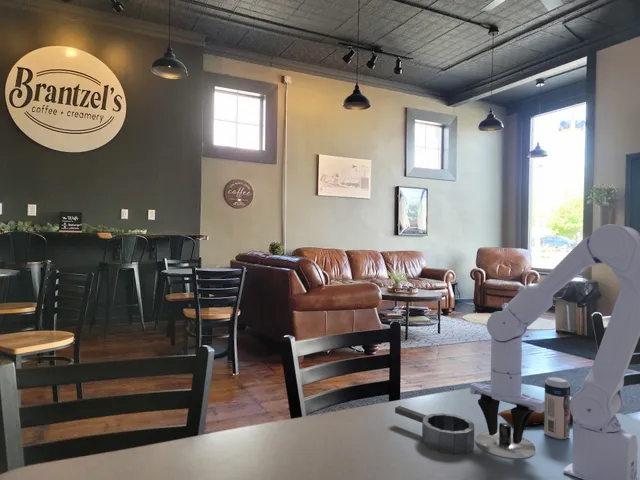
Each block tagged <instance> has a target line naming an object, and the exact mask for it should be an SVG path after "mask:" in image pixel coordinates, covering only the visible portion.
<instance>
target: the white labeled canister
mask: <svg viewBox="0 0 640 480" xmlns="http://www.w3.org/2000/svg"><path fill="white" fill-rule="evenodd" d="M570 399H571V384H570V382H569V380H568V379H566V378H564V377H560V376H548V377H547V378H546V379H545V381H544V401H545V411H544V423H543V425H544V426H543V431H544V434H546V435H547V436H548V437H550V438H551V439H552V438H553V439H556V440H566V439H569V437H571V436H570V432H571V431H570V429H571V428H570V427H571V426H570V425H571V424H570V407H569V403H570Z"/></svg>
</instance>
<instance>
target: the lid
mask: <svg viewBox="0 0 640 480" xmlns="http://www.w3.org/2000/svg"><path fill="white" fill-rule="evenodd" d="M498 429H499V431H498V430H497V433H496V434H494V435H489V431H488V430H487V431H483V432H480V433H477V435H476V436H475V438H474V442H475V444H476V446H478V447H479V449H481V450H483V451H484V452H487V453H489V454H492V455H494V456H498V457H502V458H508V459H527V458H528V459H529V458H531V457H532V456H534V455H535V454H536V452H537V450H536V446H535V444H533V442H532V441H530V440H528V438H527V439H526V438H525V437H523V436H522V440H521V442H520V443H518V444H515V443H513V433H512V425H511V424H510V423H507V422H501V423H500V422H499V423H498Z"/></svg>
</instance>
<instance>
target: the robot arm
mask: <svg viewBox="0 0 640 480" xmlns="http://www.w3.org/2000/svg"><path fill="white" fill-rule="evenodd" d="M603 264H605V266H607V267H609V268H610V269H611V270H612V272H613V274H615V276H616V278H617V279H618V280H619V282H620V283H621V287H620V290H619V293H618V296H617V298H616V301H615V304H614V306H613V309H612V312H611V314H610V317H609V320H608V323H607V326H606V328H605V331H604V334H603V337H602V340H601V342H600V344H599V347H598V351H597V353H596V355H595V359H594V361H593V364H592V367H591V369H590V370H589V372H588V374H587V376H586V377H585V379H584V380H583V384H582V385H581V388H580V389H579V390H578V391H577V392H575V393H574V394H572V397H570V403H569V407H570V411H571V414H572V416H573V422H572V454H571V456H572V458H571V459H572V460H571V461H572V462H571V463H569V464H568V465H567V466H566V467H564V468H563V473H565V474H567V475H570V476H573V477H575V478H578V479H581V480H639V476H638V450H639V449H638V438H637V436H636V435H635V434H634V433H632V432H628V431H626V430H624V429H623V428H621V426H622V425H621V423H620V422H619V418H617V414H619V412H621V410H622V408H623V405H624V404H623V403H624V399H623V395H622V390H623V388H624V384H625V376H626V372H627V370H628V368H629V366H630V363H631V360H632V357H633V355H634V352H635V350H636V347H637V344H638V342H639V339H640V232H639V231H637V230H636V229H634V228H633V227H630V226H627V225H626V226H623V225H619V224H611V223H610V224H609V223H608V224H603V225H602V226H599V227H597V228H596V229H595V230H594V231H593V232H592V234H591V235H590V236H586V237H585V238H583V239H582V240H581V241H579V243H578V244H577V245H576V246H575V247H574V248H573V249H571V250H570V252H569V253H568V254H567V255H566V256H564V258H562V260H561V261H560V262H559V263H558V264H557V265H556V266H555V267H554V268H553V269H552V270H551V271H550V272H549V273H548V274H547V275H546V276H545V277H543V279H542V280H541V281H540V282H539V283H528V284H527V285H521V286H520V287H519V288H518V289H517V291H518V293H516V295H515V296H513V298H511V300H510V301H509V302H504V303H503V304H502V305H501V308H502V310H501V311H500V310H499V311H494V312H491V314H490V316H489V317H488V319H487V321H486V329H487V333H488V334H489V335H490V336H491V340H490V341H491V343H490V344H491V346H490V385H489V384H484V383H479V382H478V383H477V382H473V383H471V384H470V385H469V386H470V387H469V390H470V391H469V392H470V394H471V395H479V396H480V398H478V399H477V404H478V406H479V407H480V409H481V412H482V413H483V416H484V419H485V422H486V427H487V432H488V431H489V435H494V434H496V433H497V431H498V429H499V423H498V421H499V419H498V418H499V415H498V413H499V408H500V403H501V402H503V403H506V404H510V405H514V407H513V408H510V409H511V415H512V420H513V425H512V434H513V443H515V444H518V443H520V442H521V440H522V437H523V436H524V432H525V429H526V426H527V425H526V424H527V422H528V420H529V418H530V416H531V415H532V413H533V412H534V410H535V412H537V413H542V412H544V411H545V400H541V399H539V398H536V397H534V396H531V395H529V394H526V393H523V392H522V361H523V360H522V359H523V356H522V355H523V354H522V353H523V352H522V351H523V350H522V337H523V336H524V335H525V334H526V332H527V330H528V327H530V326H531V325H533V324H534V322H535V321H537V320H538V319H539V318H540V317H542V316H543V315H544V314H545V313H546V312H547V311H549V309H550V308H552V307H553V305H554V295H555V294H556V293H558V292H559V291H560V290H562V289H563V288H564V287H566V285H568V284H569V283H570V282H571V281H573V280H574V279H575V278H576V277H577V276H578V275H580V274H581V273H582V272H584V271H585V270H586V269H587V268H591V267H595V266H600V265H603Z"/></svg>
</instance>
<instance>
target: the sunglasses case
mask: <svg viewBox="0 0 640 480" xmlns="http://www.w3.org/2000/svg"><path fill="white" fill-rule="evenodd" d="M511 409H512V408H510V409H509V408H508V409H506V410H503V411H500V412H498V417H499V416H500V417H501V418H502V419H503V420H505V421H506V423H507V422H508V424H510V425H511V426H513V420H512V415H511ZM570 423H573V416H572V414H571V411H570ZM539 424H544V412H542V413H537V412H535V410H534V412H533V413H532V415H531V416H530V418H529V420H528V422H527V424H526V426H530V425H539Z"/></svg>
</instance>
